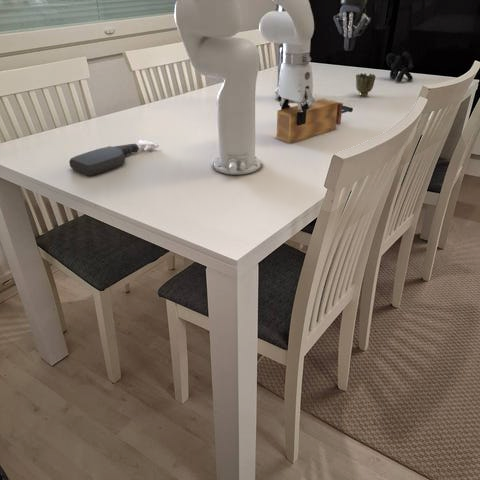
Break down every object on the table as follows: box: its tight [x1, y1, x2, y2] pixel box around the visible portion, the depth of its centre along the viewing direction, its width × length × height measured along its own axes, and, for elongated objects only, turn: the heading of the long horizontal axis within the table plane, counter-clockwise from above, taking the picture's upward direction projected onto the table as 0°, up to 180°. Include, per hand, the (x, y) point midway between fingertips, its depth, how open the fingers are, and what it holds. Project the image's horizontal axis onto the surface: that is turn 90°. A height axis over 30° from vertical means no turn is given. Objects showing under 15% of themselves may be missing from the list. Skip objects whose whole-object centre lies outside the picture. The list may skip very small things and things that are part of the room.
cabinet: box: [276, 98, 339, 144], centre depth 139 cm, size 20×6×9 cm, turn 128°
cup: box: [355, 73, 377, 97], centre depth 176 cm, size 8×7×8 cm
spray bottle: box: [68, 139, 160, 177], centre depth 124 cm, size 3×11×24 cm
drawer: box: [333, 100, 354, 126], centre depth 142 cm, size 25×5×7 cm, turn 128°
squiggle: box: [385, 51, 414, 83], centre depth 198 cm, size 11×10×15 cm
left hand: (293, 121), depth 135 cm, fingers closed on cabinet, 6 cm apart
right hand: (348, 50), depth 137 cm, fingers closed
